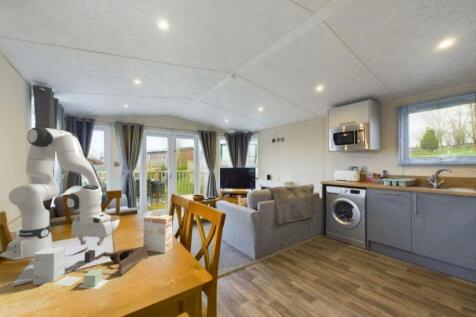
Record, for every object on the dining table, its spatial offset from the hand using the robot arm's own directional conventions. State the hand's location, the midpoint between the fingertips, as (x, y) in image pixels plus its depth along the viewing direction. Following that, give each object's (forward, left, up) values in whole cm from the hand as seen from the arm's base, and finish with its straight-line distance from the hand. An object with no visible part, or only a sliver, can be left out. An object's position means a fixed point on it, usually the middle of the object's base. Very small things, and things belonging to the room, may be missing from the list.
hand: (91, 244), depth 101 cm
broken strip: (+11, -16, -9) cm, 22 cm away
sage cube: (+17, -16, -8) cm, 25 cm away
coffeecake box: (+25, +20, -10) cm, 33 cm away
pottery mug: (+17, +1, -10) cm, 19 cm away
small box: (-5, -15, -10) cm, 19 cm away
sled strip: (+12, 0, -9) cm, 15 cm away
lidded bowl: (-28, +45, -10) cm, 54 cm away
